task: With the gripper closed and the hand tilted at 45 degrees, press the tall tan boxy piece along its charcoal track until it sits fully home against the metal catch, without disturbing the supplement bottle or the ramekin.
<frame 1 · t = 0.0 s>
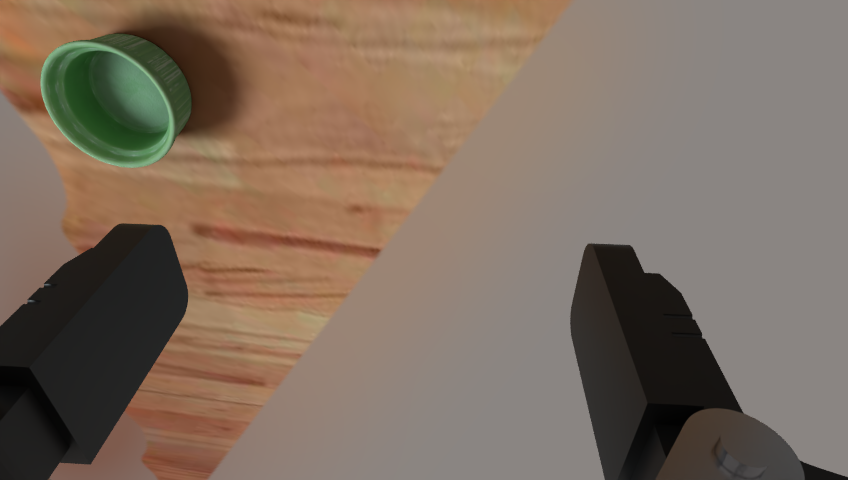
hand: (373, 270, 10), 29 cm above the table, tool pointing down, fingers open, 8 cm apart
ramekin: (141, 87, 39), on the table
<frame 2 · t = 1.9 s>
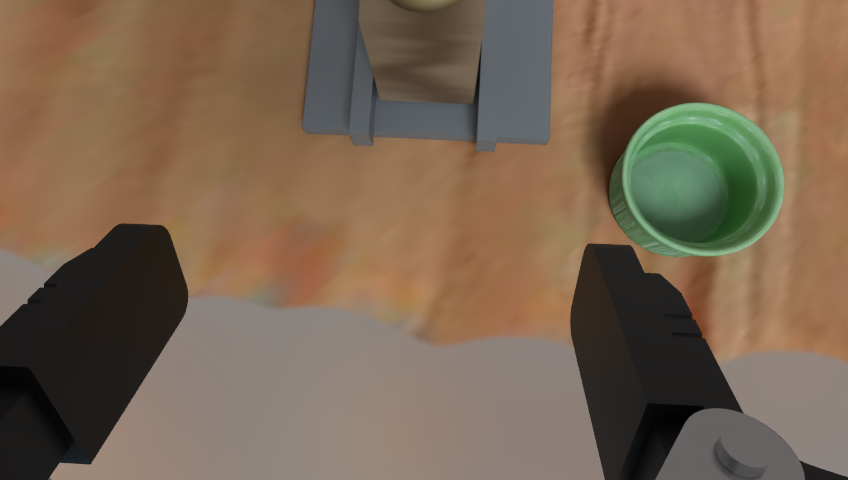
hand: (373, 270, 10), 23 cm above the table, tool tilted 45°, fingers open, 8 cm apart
ramekin: (668, 196, 34), on the table
tan boxy piece: (426, 8, 29), point 7 cm above the table, slide at 5.0 cm
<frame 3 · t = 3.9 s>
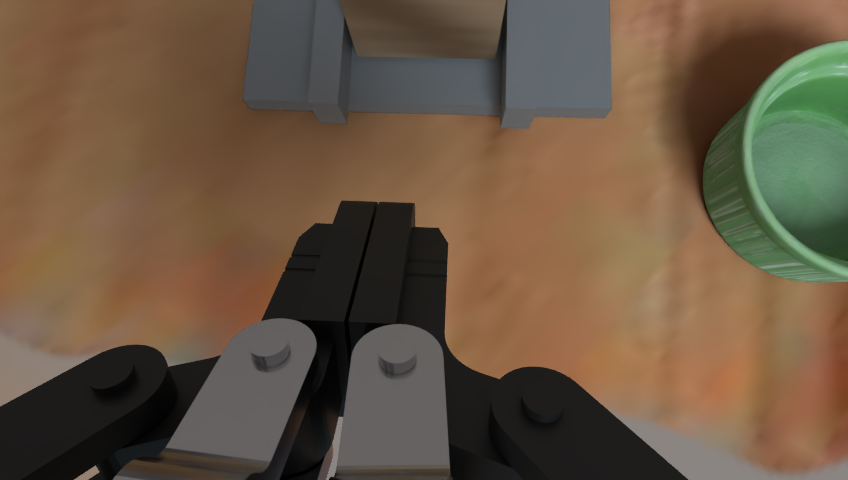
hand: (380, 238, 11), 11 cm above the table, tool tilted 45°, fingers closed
ramekin: (790, 191, 23), on the table
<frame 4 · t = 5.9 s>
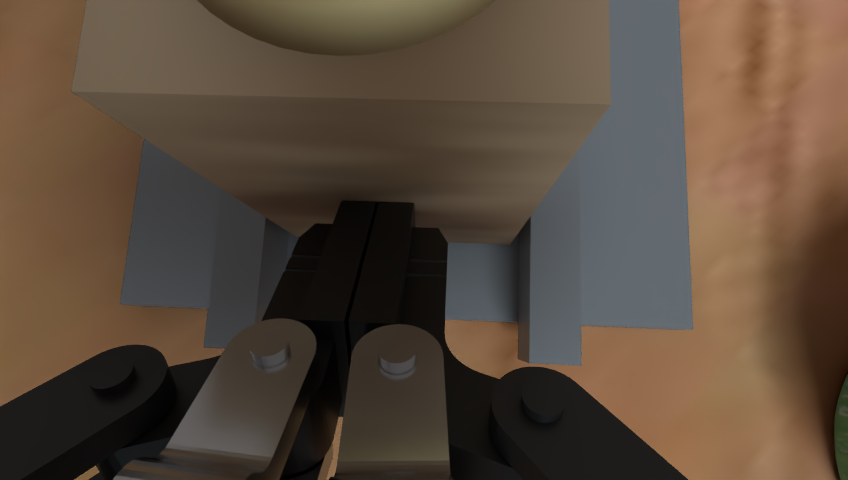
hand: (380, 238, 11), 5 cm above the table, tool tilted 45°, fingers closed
tan boxy piece: (385, 30, 10), point 7 cm above the table, slide at 4.9 cm, touching gripper
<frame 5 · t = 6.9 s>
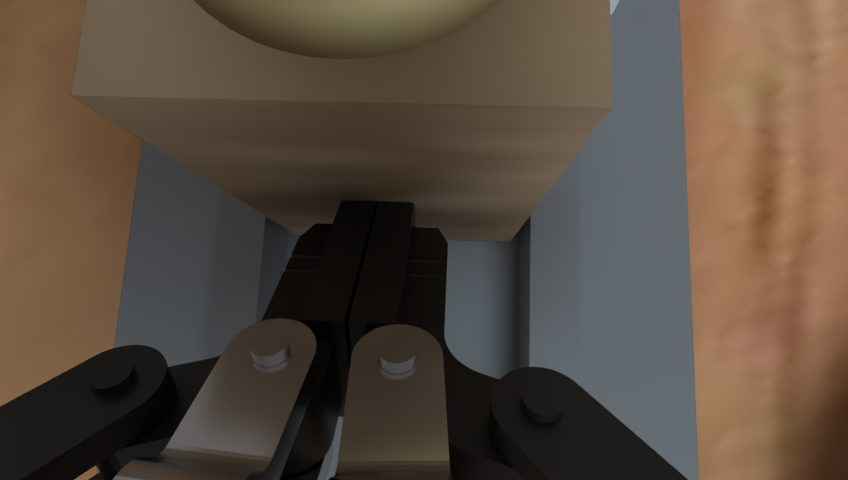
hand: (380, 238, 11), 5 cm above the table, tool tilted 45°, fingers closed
mount: (416, 7, 17), on the table
tan boxy piece: (385, 29, 10), point 7 cm above the table, slide at -0.1 cm, touching gripper
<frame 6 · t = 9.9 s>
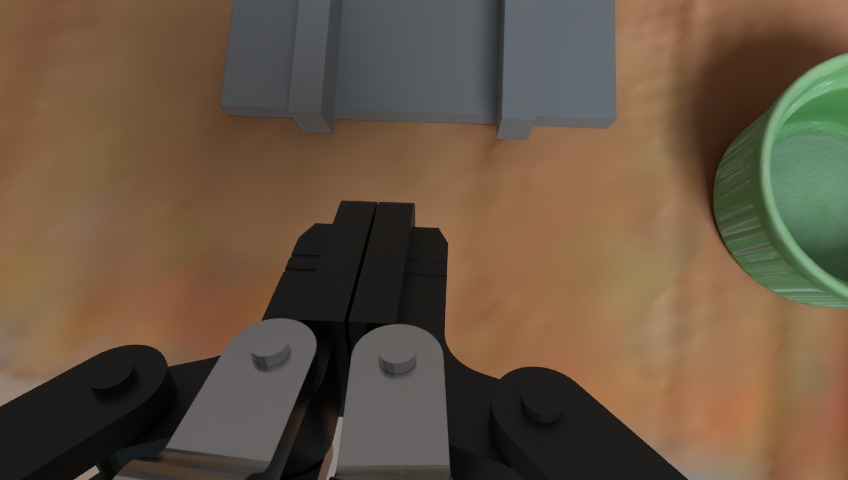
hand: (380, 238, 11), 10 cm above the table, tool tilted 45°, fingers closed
ramekin: (806, 208, 21), on the table
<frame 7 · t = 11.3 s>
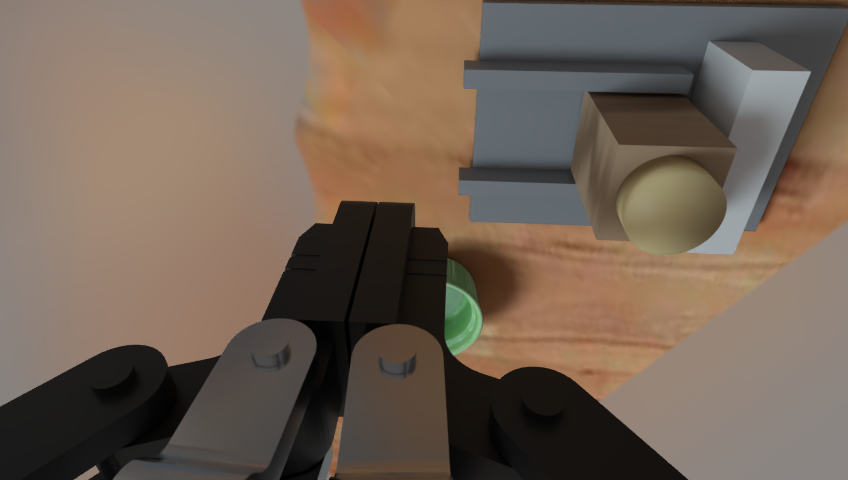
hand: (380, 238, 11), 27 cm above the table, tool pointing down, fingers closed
mount: (688, 125, 37), on the table
ramekin: (431, 286, 47), on the table
tan boxy piece: (644, 167, 32), point 7 cm above the table, slide at 0.0 cm
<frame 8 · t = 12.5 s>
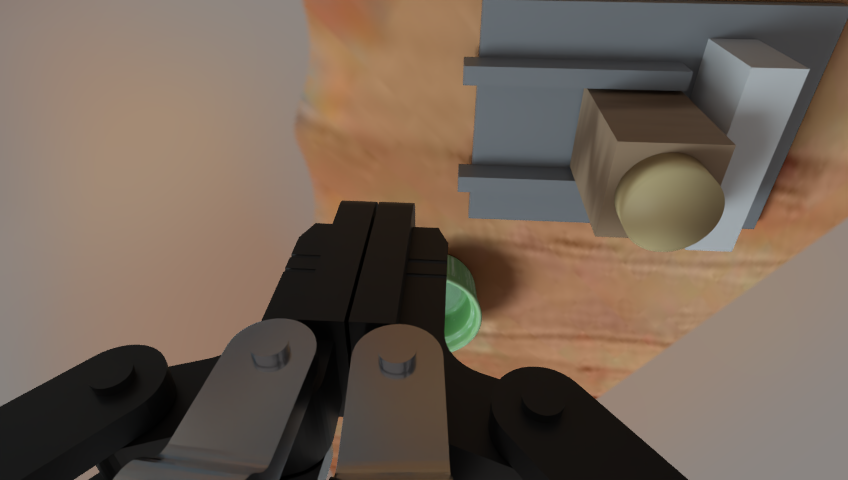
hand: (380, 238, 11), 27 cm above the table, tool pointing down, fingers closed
mount: (687, 123, 37), on the table
ramekin: (430, 283, 47), on the table
tan boxy piece: (643, 164, 32), point 7 cm above the table, slide at 0.0 cm
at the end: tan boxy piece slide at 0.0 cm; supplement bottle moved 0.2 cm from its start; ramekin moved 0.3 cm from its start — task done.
